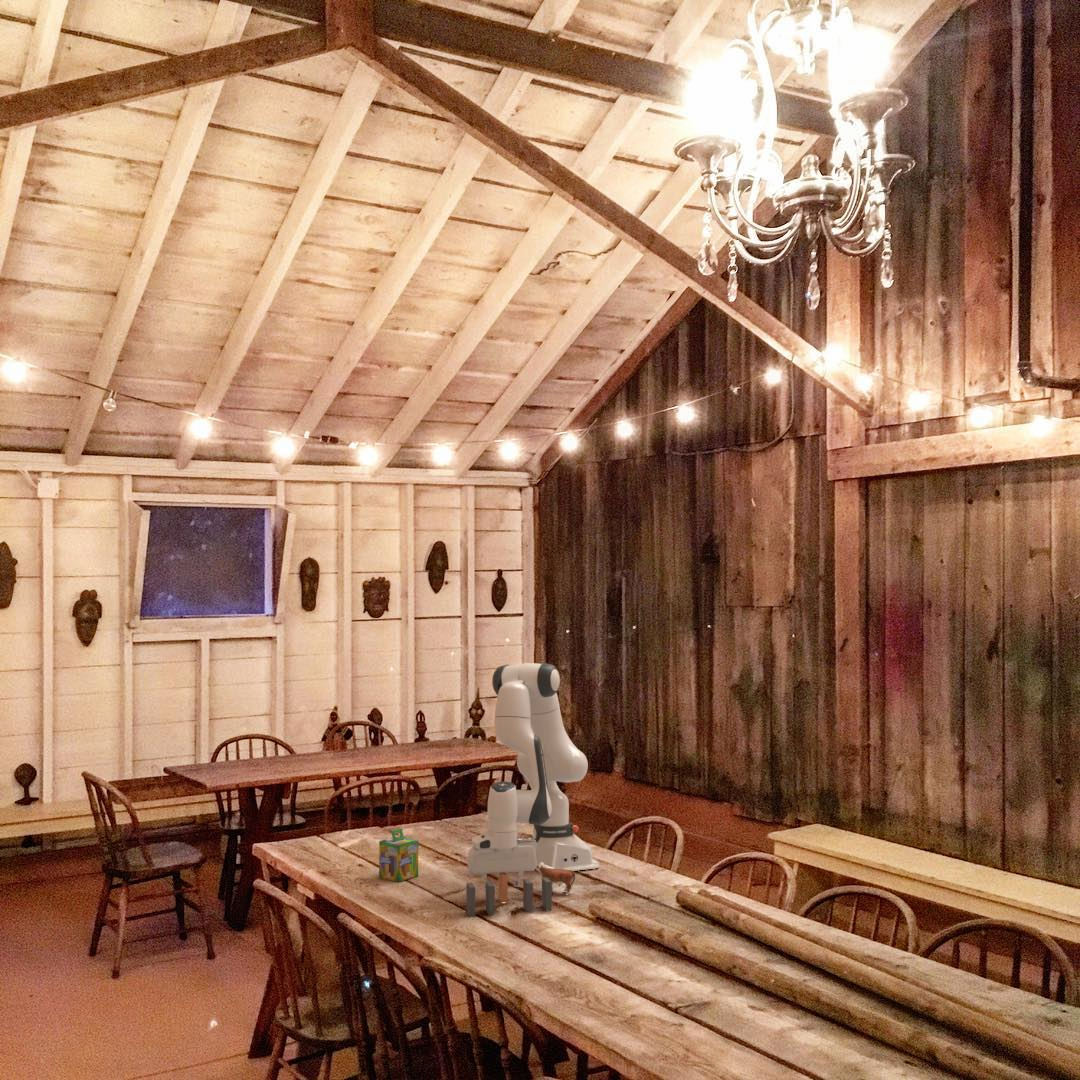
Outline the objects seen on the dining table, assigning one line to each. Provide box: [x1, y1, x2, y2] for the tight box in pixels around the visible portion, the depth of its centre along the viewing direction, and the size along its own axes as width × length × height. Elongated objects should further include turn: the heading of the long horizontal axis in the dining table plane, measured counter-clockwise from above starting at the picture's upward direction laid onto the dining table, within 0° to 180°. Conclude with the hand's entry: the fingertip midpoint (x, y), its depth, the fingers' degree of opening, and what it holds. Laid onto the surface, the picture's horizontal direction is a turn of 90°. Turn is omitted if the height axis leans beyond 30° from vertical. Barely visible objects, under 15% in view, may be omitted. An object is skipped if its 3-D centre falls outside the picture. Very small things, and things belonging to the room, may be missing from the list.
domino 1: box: [465, 882, 476, 918], centre depth 304 cm, size 2×5×8 cm, turn 15°
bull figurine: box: [536, 862, 576, 895], centre depth 326 cm, size 4×13×8 cm, turn 59°
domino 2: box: [484, 880, 496, 916], centre depth 305 cm, size 2×5×8 cm, turn 15°
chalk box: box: [378, 828, 420, 883], centre depth 342 cm, size 9×9×15 cm
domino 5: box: [541, 877, 553, 911], centre depth 309 cm, size 2×5×8 cm, turn 15°
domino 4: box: [522, 878, 534, 913], centre depth 308 cm, size 2×5×8 cm, turn 15°
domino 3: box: [497, 872, 509, 903], centre depth 316 cm, size 2×5×8 cm, turn 15°
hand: (502, 887), depth 316 cm, fingers open, 7 cm apart
